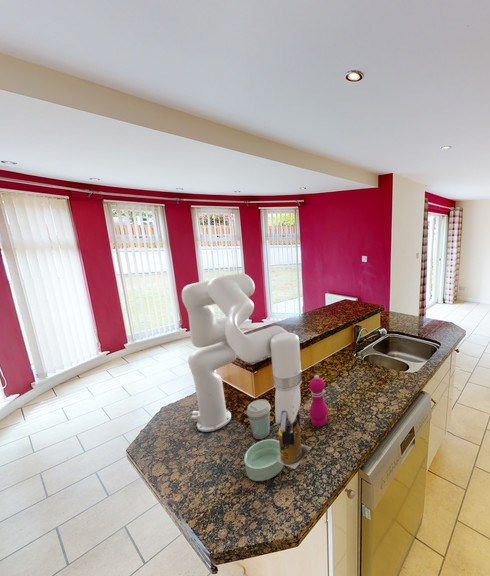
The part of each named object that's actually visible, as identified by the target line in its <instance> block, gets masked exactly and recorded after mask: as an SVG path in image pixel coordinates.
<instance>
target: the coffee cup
mask: <svg viewBox="0 0 490 576" xmlns="http://www.w3.org/2000/svg"><path fill="white" fill-rule="evenodd" d="M271 407H272V406H271V404H270V403H269V401H268V400H266V399H255V400H254V401H252V402H250V403H249V404H248V405H247V408H246V416H247V417H248V421H249V425H250V429H251V433H252V437H253V438H254V439H255V440H261V439H262V440H263V439H265V438H266V437H268V436H269V434H270V425H271V424H270V423H271V422H270V421H271V420H270V419H271V409H272V408H271Z"/></svg>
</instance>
